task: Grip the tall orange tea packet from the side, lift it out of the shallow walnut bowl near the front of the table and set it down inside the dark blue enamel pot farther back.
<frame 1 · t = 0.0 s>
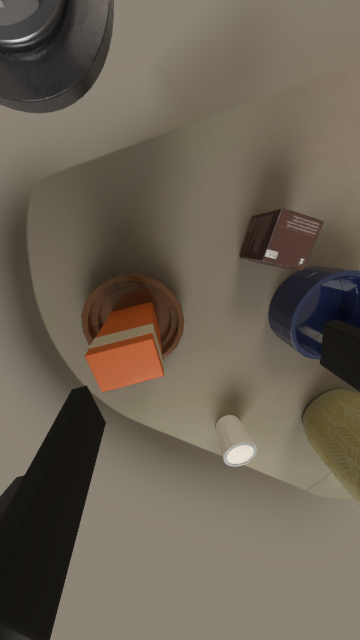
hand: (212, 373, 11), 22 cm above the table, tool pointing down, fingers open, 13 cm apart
bowl: (136, 317, 31), on the table
box: (260, 242, 30), on the table
white cylinder: (227, 423, 44), on the table
vase: (327, 409, 47), on the table
packet: (136, 319, 31), point 1 cm above the table, touching bowl
pot: (306, 307, 35), on the table
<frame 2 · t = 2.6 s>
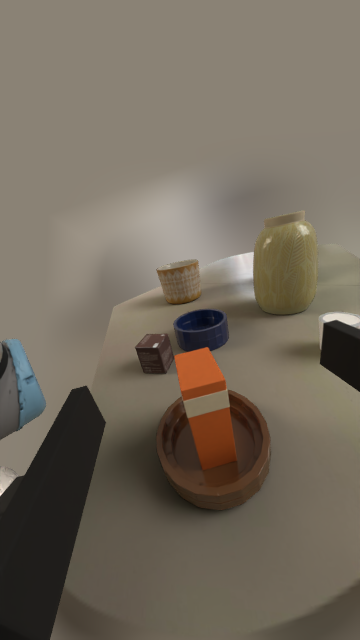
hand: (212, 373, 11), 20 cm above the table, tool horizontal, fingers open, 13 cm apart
bowl: (213, 444, 27), on the table
box: (159, 366, 47), on the table
white cylinder: (336, 350, 39), on the table
vase: (283, 307, 63), on the table
packet: (212, 441, 27), point 1 cm above the table, touching bowl
pot: (202, 338, 55), on the table
planter: (184, 298, 94), on the table
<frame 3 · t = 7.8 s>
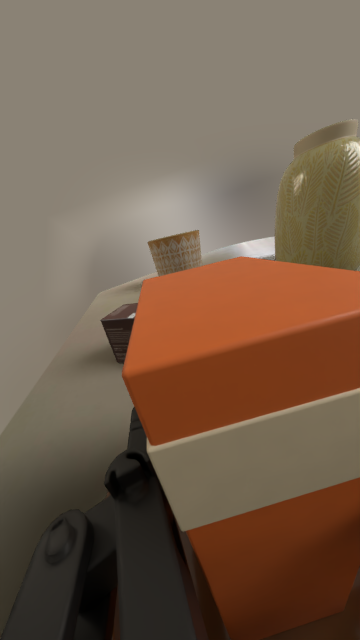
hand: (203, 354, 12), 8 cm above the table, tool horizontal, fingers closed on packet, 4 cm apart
bowl: (250, 524, 11), on the table
box: (143, 353, 31), on the table
vase: (314, 277, 46), on the table
packet: (249, 517, 10), point 1 cm above the table, touching bowl, gripper
planter: (182, 280, 77), on the table
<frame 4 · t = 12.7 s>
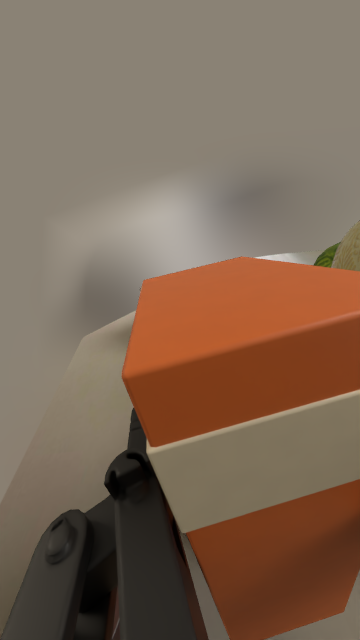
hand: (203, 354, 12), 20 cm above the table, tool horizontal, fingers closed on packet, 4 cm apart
packet: (249, 518, 10), point 13 cm above the table, touching gripper
lettuce: (344, 306, 55), on the table
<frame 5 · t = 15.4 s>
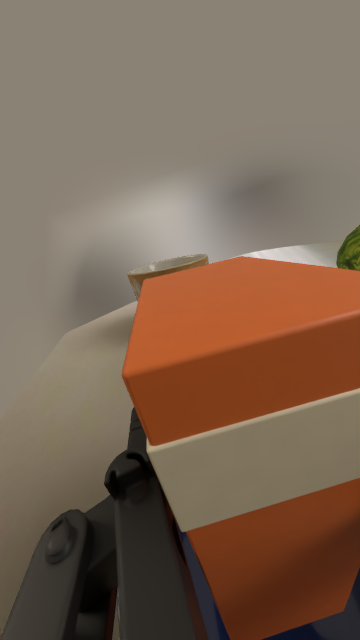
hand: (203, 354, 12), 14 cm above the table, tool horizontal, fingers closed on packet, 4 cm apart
packet: (249, 517, 10), point 7 cm above the table, touching gripper
pot: (255, 569, 13), on the table
planter: (181, 325, 52), on the table
when the fingers open (8 cm above the table, at t = 17.5 s): packet stays where it is, resting on pot.
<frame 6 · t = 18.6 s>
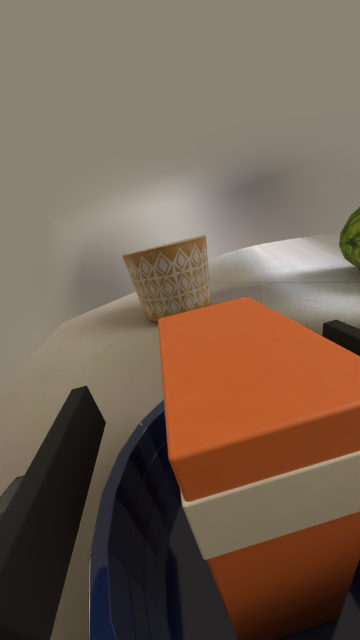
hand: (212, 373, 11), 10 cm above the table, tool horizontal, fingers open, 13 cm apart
packet: (254, 530, 11), point 1 cm above the table, touching pot
pot: (253, 536, 11), on the table
planter: (179, 311, 50), on the table
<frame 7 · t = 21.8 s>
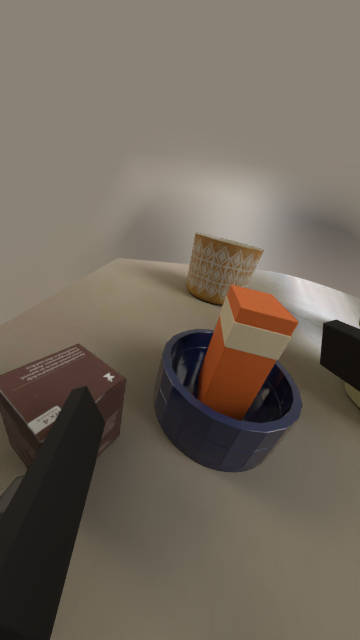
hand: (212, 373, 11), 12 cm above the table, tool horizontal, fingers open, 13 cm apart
box: (69, 441, 17), on the table
packet: (215, 398, 23), point 1 cm above the table, touching pot
pot: (213, 402, 23), on the table
planter: (211, 295, 61), on the table
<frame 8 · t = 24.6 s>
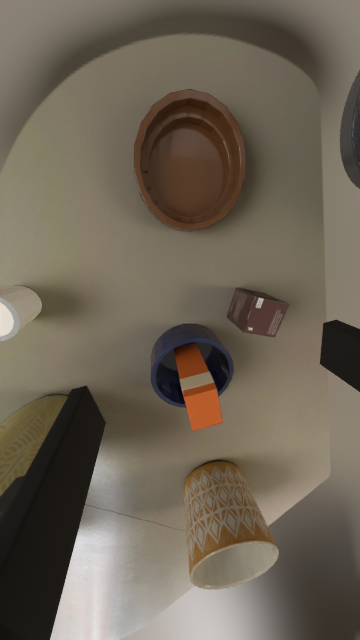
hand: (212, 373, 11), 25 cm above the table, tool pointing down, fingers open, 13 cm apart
bowl: (187, 176, 28), on the table
box: (244, 304, 37), on the table
white cylinder: (23, 302, 31), on the table
vase: (61, 418, 41), on the table
packet: (187, 359, 38), point 1 cm above the table, touching pot
pot: (187, 356, 39), on the table
planter: (212, 477, 55), on the table
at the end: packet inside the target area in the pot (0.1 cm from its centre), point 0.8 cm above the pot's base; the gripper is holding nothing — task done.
